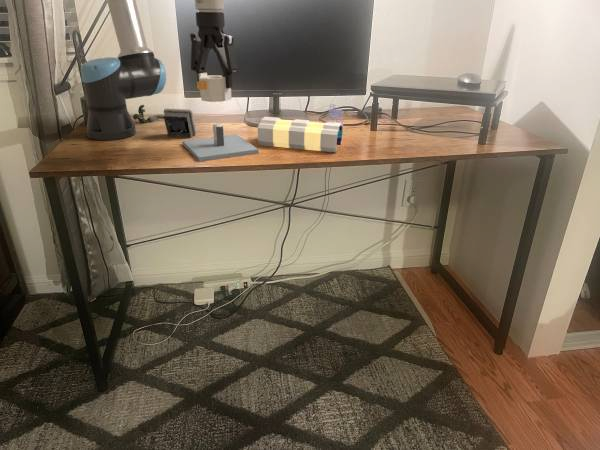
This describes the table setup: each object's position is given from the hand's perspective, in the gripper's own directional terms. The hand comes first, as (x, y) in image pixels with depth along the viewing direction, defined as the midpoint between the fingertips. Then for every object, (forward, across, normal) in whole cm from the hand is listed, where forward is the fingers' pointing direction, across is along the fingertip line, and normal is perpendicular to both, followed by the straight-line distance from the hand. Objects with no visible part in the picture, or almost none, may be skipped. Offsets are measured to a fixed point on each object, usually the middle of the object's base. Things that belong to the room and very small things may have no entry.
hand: (215, 98), depth 129 cm
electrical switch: (+15, -19, +3) cm, 25 cm away
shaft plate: (+15, 0, 0) cm, 15 cm away
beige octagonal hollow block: (0, 0, -1) cm, 1 cm away
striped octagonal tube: (+16, +18, +18) cm, 30 cm away
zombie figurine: (+15, -42, +12) cm, 47 cm away
